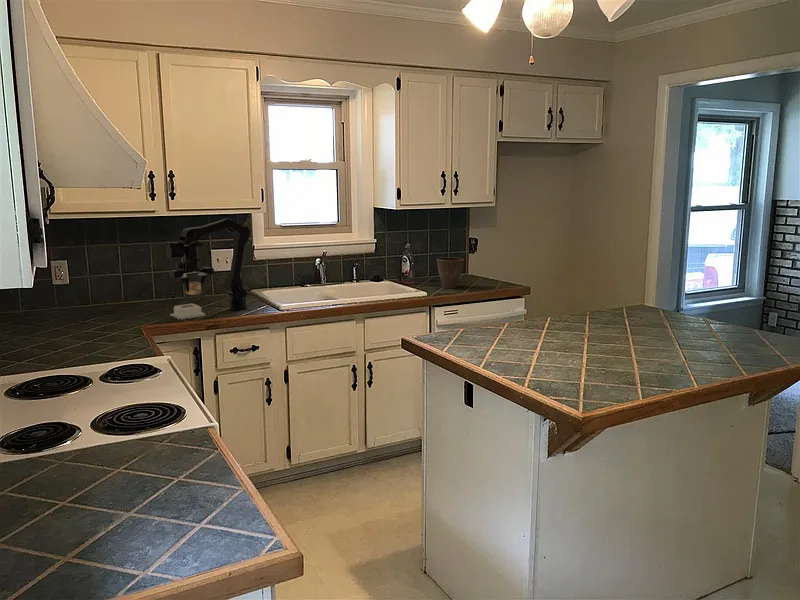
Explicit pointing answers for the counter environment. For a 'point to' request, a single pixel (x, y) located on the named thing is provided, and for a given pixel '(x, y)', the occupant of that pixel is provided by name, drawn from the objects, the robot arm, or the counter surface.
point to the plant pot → (450, 271)
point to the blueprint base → (187, 311)
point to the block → (194, 288)
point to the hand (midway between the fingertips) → (193, 291)
